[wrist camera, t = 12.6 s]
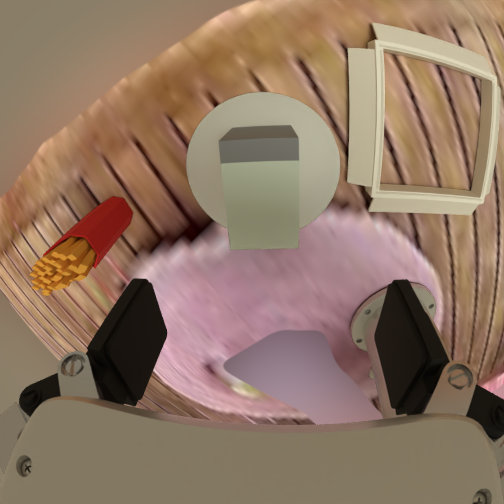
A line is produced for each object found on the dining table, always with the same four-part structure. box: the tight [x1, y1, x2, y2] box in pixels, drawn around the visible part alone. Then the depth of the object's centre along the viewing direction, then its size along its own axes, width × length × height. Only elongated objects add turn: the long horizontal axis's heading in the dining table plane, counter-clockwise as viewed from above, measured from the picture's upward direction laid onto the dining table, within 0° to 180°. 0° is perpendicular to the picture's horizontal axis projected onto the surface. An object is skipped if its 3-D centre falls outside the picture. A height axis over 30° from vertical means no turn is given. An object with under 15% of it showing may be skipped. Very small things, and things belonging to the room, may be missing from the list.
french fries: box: [30, 196, 133, 296], centre depth 24 cm, size 8×4×12 cm, turn 116°
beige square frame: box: [347, 23, 500, 215], centre depth 20 cm, size 18×18×2 cm
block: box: [218, 125, 299, 250], centre depth 22 cm, size 8×5×7 cm, turn 4°
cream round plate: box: [186, 92, 340, 229], centre depth 25 cm, size 14×14×1 cm
